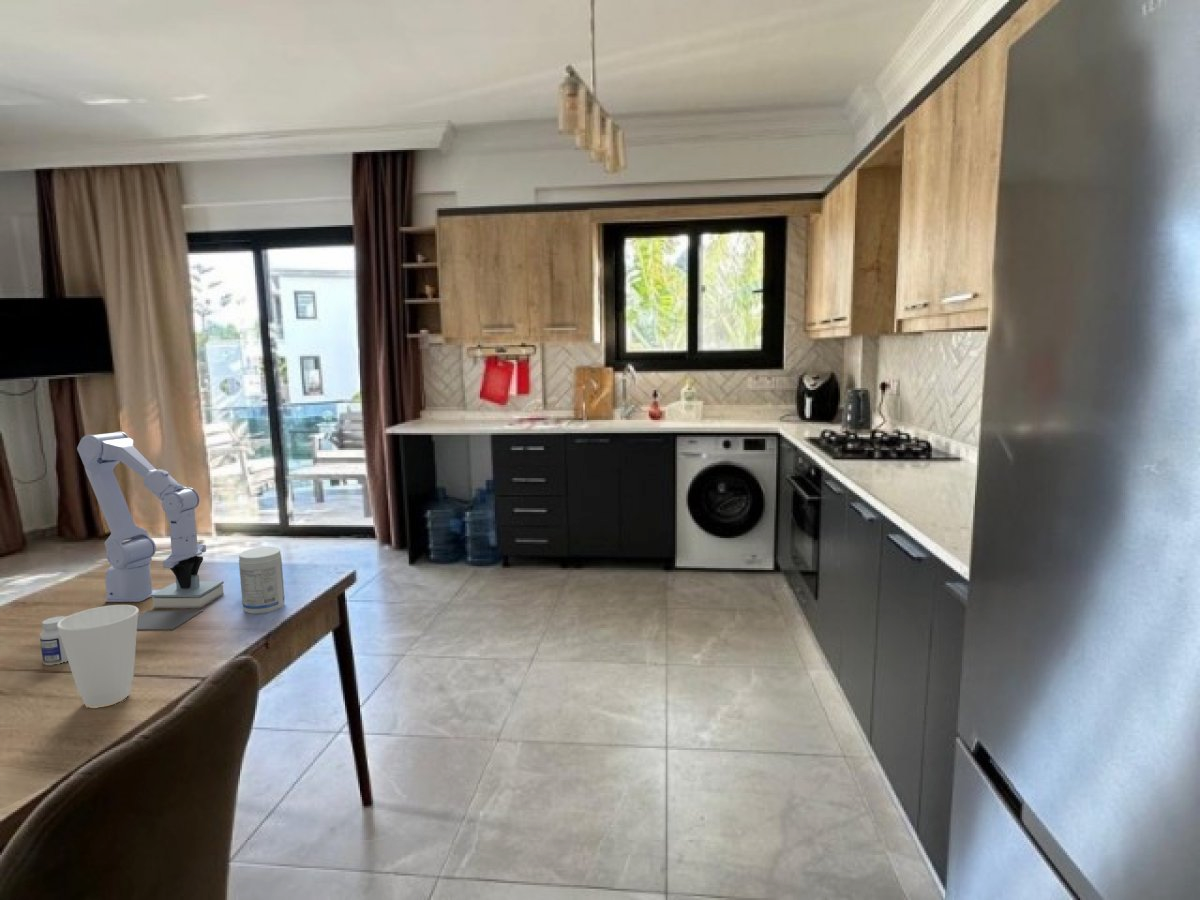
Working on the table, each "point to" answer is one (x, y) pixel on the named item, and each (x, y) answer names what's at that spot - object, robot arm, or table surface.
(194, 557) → the robot arm
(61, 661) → the pill bottle
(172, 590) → the lid
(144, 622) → the mat
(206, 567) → the table surface
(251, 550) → the supplement tub
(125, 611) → the cup
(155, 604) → the storage box
